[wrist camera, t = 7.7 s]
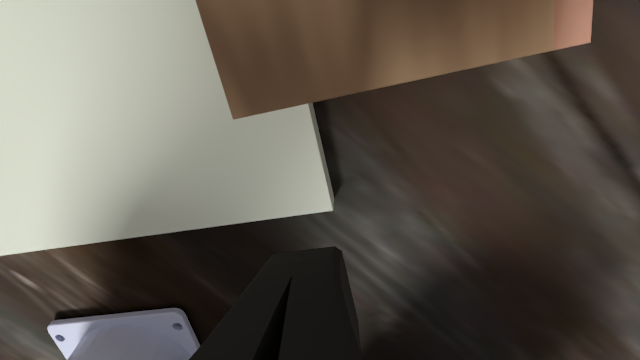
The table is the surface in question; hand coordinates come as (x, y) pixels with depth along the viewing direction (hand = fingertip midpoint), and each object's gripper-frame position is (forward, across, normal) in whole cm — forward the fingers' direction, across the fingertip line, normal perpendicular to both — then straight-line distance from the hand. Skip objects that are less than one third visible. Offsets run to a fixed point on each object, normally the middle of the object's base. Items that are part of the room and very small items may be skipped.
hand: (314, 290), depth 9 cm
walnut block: (+7, +3, -4) cm, 9 cm away
